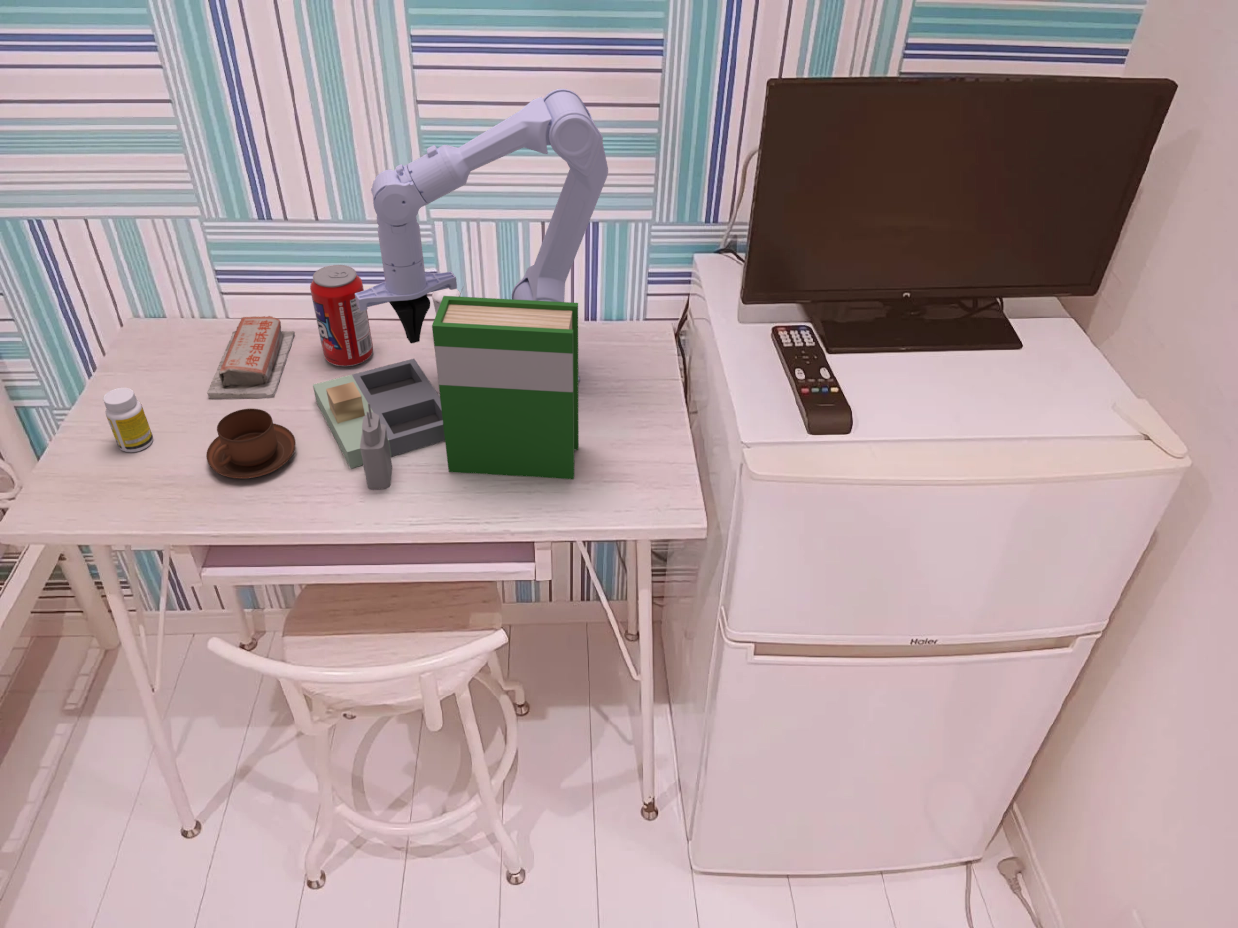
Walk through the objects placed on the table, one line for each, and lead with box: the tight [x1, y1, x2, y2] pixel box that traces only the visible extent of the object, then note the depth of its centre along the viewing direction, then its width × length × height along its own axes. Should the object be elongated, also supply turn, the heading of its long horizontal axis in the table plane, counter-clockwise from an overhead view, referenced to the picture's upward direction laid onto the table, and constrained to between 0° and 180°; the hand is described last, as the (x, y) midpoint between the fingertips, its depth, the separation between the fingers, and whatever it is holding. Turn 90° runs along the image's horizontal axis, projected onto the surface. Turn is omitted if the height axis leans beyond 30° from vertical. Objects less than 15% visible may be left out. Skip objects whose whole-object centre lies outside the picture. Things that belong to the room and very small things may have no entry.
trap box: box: [312, 358, 445, 469], centre depth 147 cm, size 16×18×3 cm
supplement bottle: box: [102, 387, 154, 453], centre depth 139 cm, size 5×5×8 cm
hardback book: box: [431, 296, 580, 480], centre depth 133 cm, size 18×7×24 cm, turn 87°
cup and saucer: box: [206, 408, 296, 479], centre depth 138 cm, size 12×12×6 cm
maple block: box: [326, 382, 365, 423], centre depth 142 cm, size 4×4×4 cm
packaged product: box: [206, 315, 296, 400], centre depth 156 cm, size 18×5×10 cm
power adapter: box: [360, 403, 393, 491], centre depth 134 cm, size 3×5×12 cm, turn 6°
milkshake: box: [431, 286, 464, 315], centre depth 162 cm, size 4×5×10 cm
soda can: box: [310, 264, 374, 367], centre depth 155 cm, size 8×8×15 cm
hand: (413, 339), depth 147 cm, fingers closed
